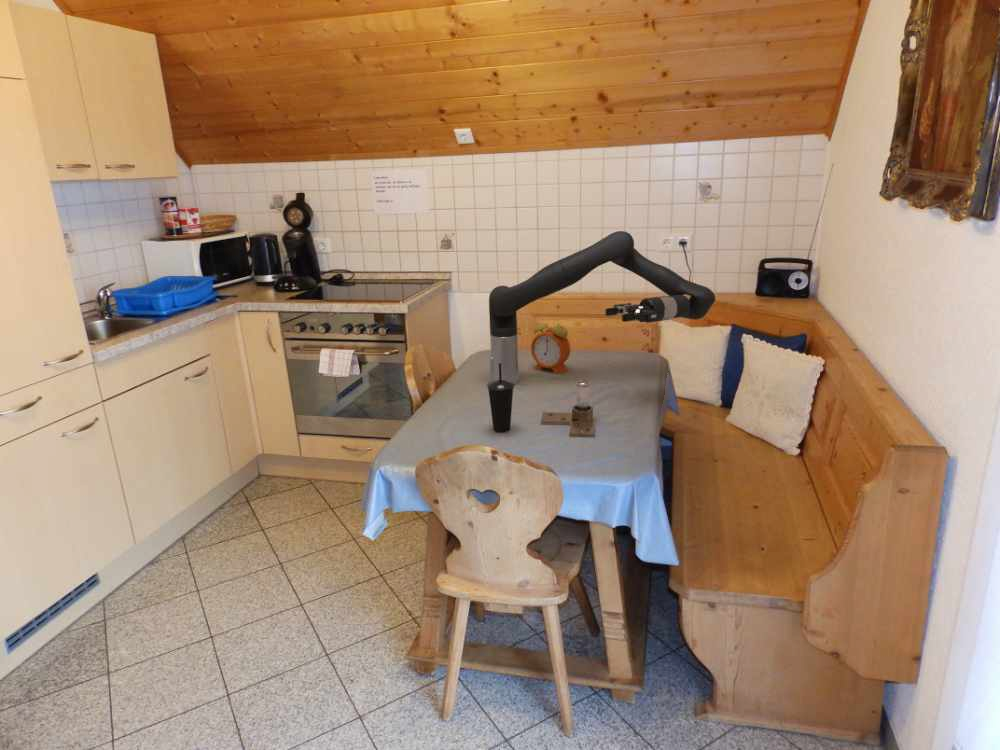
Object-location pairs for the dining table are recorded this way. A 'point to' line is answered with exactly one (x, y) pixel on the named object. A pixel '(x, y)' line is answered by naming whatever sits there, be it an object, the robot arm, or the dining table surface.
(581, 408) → the hinge pin
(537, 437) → the dining table surface
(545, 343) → the alarm clock
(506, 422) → the drinking cup
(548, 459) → the dining table surface
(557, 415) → the hinge base
